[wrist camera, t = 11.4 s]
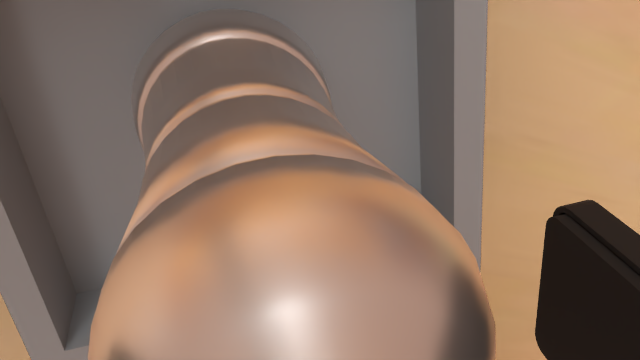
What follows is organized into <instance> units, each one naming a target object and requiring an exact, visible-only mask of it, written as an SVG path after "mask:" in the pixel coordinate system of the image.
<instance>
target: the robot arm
mask: <svg viewBox="0 0 640 360" xmlns="http://www.w3.org/2000/svg"><path fill="white" fill-rule="evenodd" d="M535 336H536V341H537V344H538V346H539V348H540V350H541V352H542V353H543V355H544V356H545V357H546V358H547V360H640V235H639V234H637V233H636V232H635V231H634V230H632V229H631V228H630V227H628V226H627V225H626V224H624V223H623V222H622V221H620V220H619V219H618V218H616V217H615V216H614V215H613V214H611V213H610V212H609V211H607V210H606V209H605V208H603V207H602V206H601V205H599V204H598V203H596V202H595V201H593V200H585V201H581V202H577V203H573V204H568V205H564V206H560V207H558V208H556V210H555V211H554V214H553V217H551V218H549V219H548V220H547V223H546V230H545V239H544V249H543V259H542V269H541V279H540V289H539V299H538V309H537V318H536V328H535Z"/></svg>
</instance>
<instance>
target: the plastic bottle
mask: <svg viewBox="0 0 640 360" xmlns="http://www.w3.org/2000/svg"><path fill="white" fill-rule="evenodd" d="M131 103H132V112H133V119H134V124H135V128H136V132H137V135H138V138H139V141H140V144H141V147H142V149H143V151H144V155H145V164H146V167H145V174H144V177H143V181H142V186H141V191H140V195H139V200H138V204H137V206H136V209H135V211H134V213H133V216H132V218H131V220H130V223H129V225H128V227H127V229H126V232H125V234H124V236H123V239H122V241H121V243H120V245H119V248H118V250H117V253H116V255H115V257H114V258H113V261H112V263H111V266H110V269H109V271H108V274H107V276H106V279H105V282H104V284H103V287H102V289H101V293H100V297H99V300H98V304H97V308H96V311H95V314H94V318H93V321H92V324H91V331H90V341H89V351H88V360H495V355H496V341H495V322H494V319H493V315H492V312H491V309H490V305H489V302H488V298H487V295H486V291H485V288H484V285H483V281H482V278H481V274H480V271H479V268H478V264H477V261H476V258H475V256H474V255H473V253H472V251H471V250H470V248H469V247H468V245H467V243H466V242H465V240H464V238H463V237H462V235H461V233H460V232H459V231H458V230H457V229H455V228H454V227H453V226H452V225H451V224H450V223H449V222H448V221H447V220H446V219H445V218H444V217H443V216H442V215H441V214H440V212H439V211H438V210H437V209H436V208H435V207H434V206H433V205H432V204H430V203H429V202H428V201H427V200H426V199H425V198H424V197H423V196H422V195H421V194H420V193H419V192H418V191H417V190H416V189H415V188H414V187H412V186H410V185H409V184H408V183H406V182H405V181H404V180H403V179H402V178H400V177H399V176H398V175H396V174H395V173H394V172H393V171H391V170H390V169H389V168H387V167H386V166H385V165H384V164H382V163H381V162H380V161H378V160H377V159H376V158H375V157H373V156H372V155H371V154H369V153H368V152H367V151H366V150H364V149H363V148H362V147H361V146H360V145H359V144H358V143H357V142H356V140H355V139H354V138H353V137H352V136H351V135H350V134H349V133H348V132H347V131H346V130H345V129H344V127H343V126H342V125H341V123H340V122H339V121H338V119H337V117H336V115H335V112H334V110H333V108H332V103H331V97H330V91H329V88H328V85H327V82H326V79H325V77H324V74H323V71H322V69H321V66H320V64H319V61H318V60H317V58H316V57H315V55H314V54H313V52H312V51H311V49H310V48H309V46H308V45H307V44H306V43H305V42H304V41H303V40H302V39H301V38H300V37H299V36H298V35H297V34H296V33H295V32H293V31H292V30H290V29H289V28H287V27H286V26H284V25H283V24H281V23H280V22H278V21H275V20H273V19H271V18H268V17H266V16H264V15H261V14H257V13H252V12H248V11H243V10H238V9H214V10H209V11H203V12H199V13H197V14H194V15H192V16H189V17H186V18H184V19H182V20H181V21H179V22H178V23H176V24H175V25H173V26H172V27H170V28H169V29H167V30H166V31H164V32H163V33H162V34H161V35H160V36H159V37H158V38H157V39H156V40H155V41H154V42H153V43H152V44H151V45H150V47H149V48H148V50H147V51H146V53H145V54H144V56H143V58H142V59H141V61H140V62H139V65H138V68H137V71H136V74H135V76H134V79H133V86H132V94H131Z"/></svg>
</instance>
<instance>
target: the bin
mask: <svg viewBox="0 0 640 360" xmlns="http://www.w3.org/2000/svg"><path fill="white" fill-rule="evenodd" d="M214 9H238V10H243V11H248V12H252V13H257V14H261V15H264V16H266V17H268V18H271V19H273V20H275V21H278V22H280V23H281V24H283V25H284V26H286V27H287V28H289V29H290V30H292V31H293V32H295V33H296V34H297V35H298V36H299V37H300V38H301V39H302V40H303V41H304V42H305V43H306V44H307V45H308V46H309V48H310V49H311V51H312V52H313V54H314V55H315V57H316V58H317V60H318V61H319V64H320V66H321V69H322V71H323V74H324V77H325V79H326V82H327V85H328V88H329V91H330V97H331V103H332V108H333V110H334V112H335V115H336V117H337V119H338V121H339V122H340V123H341V125H342V126H343V127H344V129H345V130H346V131H347V132H348V133H349V134H350V135H351V136H352V137H353V138H354V139H355V140H356V142H357V143H358V144H359V145H360V146H361V147H362V148H363V149H364V150H366V151H367V152H368V153H369V154H371V155H372V156H373V157H375V158H376V159H377V160H378V161H380V162H381V163H382V164H384V165H385V166H386V167H387V168H389V169H390V170H391V171H393V172H394V173H395V174H396V175H398V176H399V177H400V178H402V179H403V180H404V181H405V182H406V183H408V184H409V185H410V186H412V187H414V188H415V189H416V190H417V191H418V192H419V193H420V194H421V195H422V196H423V197H424V198H425V199H426V200H427V201H428V202H429V203H430V204H432V205H433V206H434V207H435V208H436V209H437V210H438V211H439V212H440V214H441V215H442V216H443V217H444V218H445V219H446V220H447V221H448V222H449V223H450V224H451V225H452V226H453V227H454V228H455V229H457V230H458V231H459V232H460V233H461V235H462V237H463V238H464V240H465V242H466V243H467V245H468V247H469V248H470V250H471V251H472V253H473V255H474V256H475V258H476V261H477V264H478V268H479V271H480V263H481V227H482V191H483V155H484V119H485V83H486V47H487V11H488V0H0V293H1V295H2V297H3V300H4V302H5V304H6V306H7V308H8V310H9V312H10V315H11V317H12V319H13V321H14V323H15V325H16V328H17V330H18V332H19V334H20V336H21V338H22V340H23V343H24V345H25V347H26V349H27V351H28V353H29V356H30V358H31V360H88V351H89V341H90V331H91V324H92V321H93V318H94V314H95V311H96V308H97V304H98V300H99V297H100V293H101V289H102V287H103V284H104V282H105V279H106V276H107V274H108V271H109V269H110V266H111V263H112V261H113V258H114V257H115V255H116V253H117V250H118V248H119V245H120V243H121V241H122V239H123V236H124V234H125V232H126V229H127V227H128V225H129V223H130V220H131V218H132V216H133V213H134V211H135V209H136V206H137V204H138V200H139V195H140V191H141V186H142V181H143V177H144V174H145V167H146V164H145V155H144V151H143V149H142V147H141V144H140V141H139V138H138V135H137V132H136V128H135V124H134V119H133V112H132V103H131V94H132V86H133V79H134V76H135V74H136V71H137V68H138V65H139V62H140V61H141V59H142V58H143V56H144V54H145V53H146V51H147V50H148V48H149V47H150V45H151V44H152V43H153V42H154V41H155V40H156V39H157V38H158V37H159V36H160V35H161V34H162V33H163V32H164V31H166V30H167V29H169V28H170V27H172V26H173V25H175V24H176V23H178V22H179V21H181V20H182V19H184V18H186V17H189V16H192V15H194V14H197V13H199V12H203V11H209V10H214Z"/></svg>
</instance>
